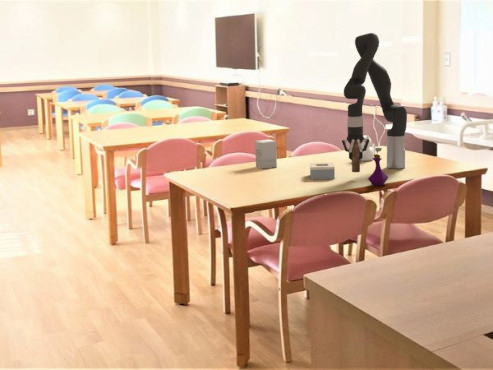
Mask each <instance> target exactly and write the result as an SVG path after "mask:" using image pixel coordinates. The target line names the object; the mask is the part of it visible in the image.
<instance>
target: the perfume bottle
mask: <svg viewBox="0 0 493 370" xmlns="http://www.w3.org/2000/svg"><path fill="white" fill-rule="evenodd" d="M375 148H376V149H375V155H374V158H373V159H372V160H373V162H374V163H375V169H374V171H373V172H372V173H371V175H370V176H369V177H368V179H367V180H368V182H370V184H371V185H372V186H376V187H382V186H384V185H385V184H386V182H387V180H388V179H389V177H388V175H387V174H386V173H385V172H384V171H383V170H382V167H381V165H380V164H381V163H380V162H381V160H382V157H381V155H380V154H378V153H379V152H381V151H382V147H375Z"/></svg>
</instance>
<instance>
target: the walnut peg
mask: <svg viewBox="0 0 493 370" xmlns="http://www.w3.org/2000/svg"><path fill="white" fill-rule="evenodd" d="M351 152H352V160H351V172H352V173H360V172H361V160H360V149H359V145H358V142H357V140H354V144H353V148H352V151H351Z"/></svg>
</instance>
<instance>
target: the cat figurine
mask: <svg viewBox="0 0 493 370" xmlns="http://www.w3.org/2000/svg"><path fill="white" fill-rule="evenodd" d="M363 137H364V138H366V139H369V143H368V146H367V149H366V151H363V158H362V159H361V160H360V162H369V161H372V160H373V158H374V155H375V154H376V148H377V147H376V144H375V143H373V142H372V138H370V135H369V134H367V135H364V134H363ZM364 145H365V142H364V140H363V142H362V143H361V147H362V149H363V148H364Z"/></svg>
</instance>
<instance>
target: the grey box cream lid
mask: <svg viewBox="0 0 493 370" xmlns="http://www.w3.org/2000/svg"><path fill="white" fill-rule="evenodd" d="M335 170H336V169H335V164H334V162H309V171H310V172H309V173H310V174H309V175H310V176H309V177H310V180H335V179H336V178H335V174H336V173H335Z"/></svg>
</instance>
